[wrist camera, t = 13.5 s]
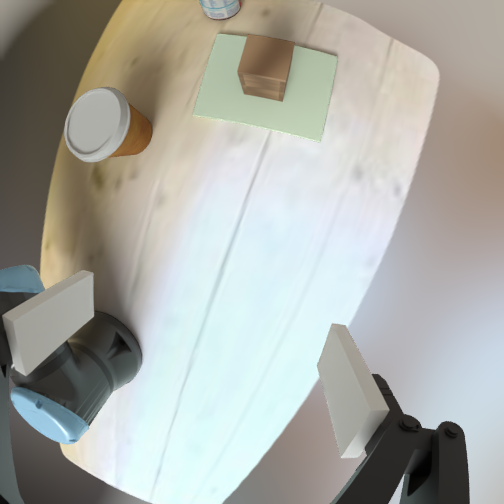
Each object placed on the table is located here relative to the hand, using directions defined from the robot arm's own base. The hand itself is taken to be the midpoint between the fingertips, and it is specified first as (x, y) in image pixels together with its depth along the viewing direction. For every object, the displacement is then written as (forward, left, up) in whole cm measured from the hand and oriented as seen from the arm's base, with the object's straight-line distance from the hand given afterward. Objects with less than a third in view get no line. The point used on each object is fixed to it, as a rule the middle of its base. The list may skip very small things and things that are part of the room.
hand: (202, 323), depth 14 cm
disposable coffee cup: (-20, +11, -27) cm, 36 cm away
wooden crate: (-2, +22, -26) cm, 34 cm away
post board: (-2, +22, -27) cm, 35 cm away
